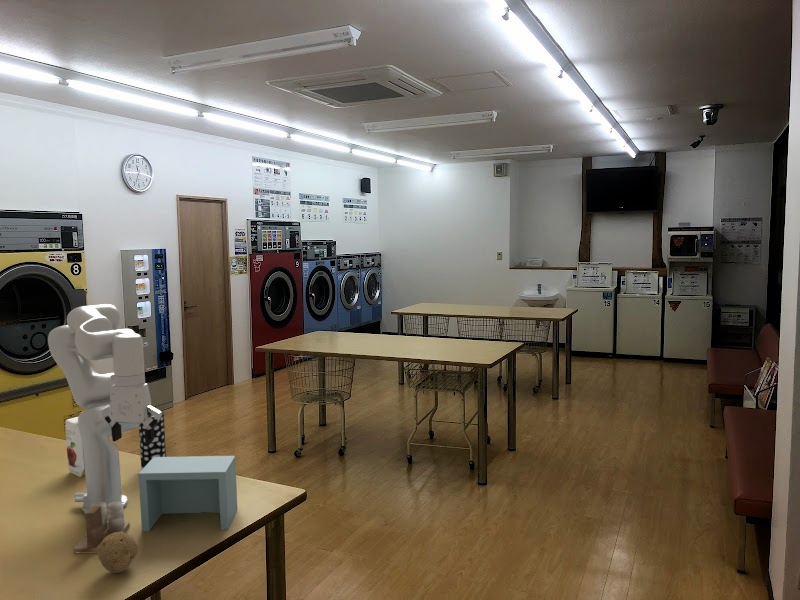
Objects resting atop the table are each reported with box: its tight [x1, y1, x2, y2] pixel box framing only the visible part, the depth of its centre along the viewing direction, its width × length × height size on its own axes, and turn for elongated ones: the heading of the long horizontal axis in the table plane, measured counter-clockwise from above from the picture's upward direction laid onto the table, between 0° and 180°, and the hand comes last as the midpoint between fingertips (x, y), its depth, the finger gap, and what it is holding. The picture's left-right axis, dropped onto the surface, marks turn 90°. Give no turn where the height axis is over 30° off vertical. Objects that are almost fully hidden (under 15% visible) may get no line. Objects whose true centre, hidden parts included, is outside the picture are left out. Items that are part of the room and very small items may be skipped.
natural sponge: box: [97, 532, 139, 574], centre depth 156 cm, size 9×9×10 cm
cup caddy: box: [73, 501, 131, 553], centre depth 171 cm, size 9×14×11 cm, turn 2°
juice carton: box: [64, 416, 85, 478], centre depth 216 cm, size 8×9×19 cm
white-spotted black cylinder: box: [138, 410, 167, 471], centre depth 218 cm, size 8×8×20 cm
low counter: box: [138, 455, 238, 532], centre depth 181 cm, size 24×12×17 cm, turn 92°
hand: (133, 440), depth 170 cm, fingers open, 9 cm apart
